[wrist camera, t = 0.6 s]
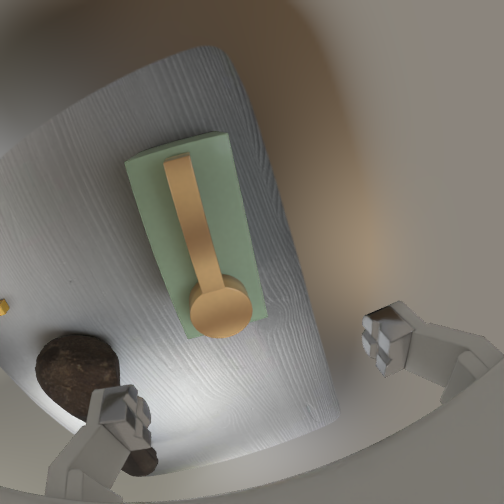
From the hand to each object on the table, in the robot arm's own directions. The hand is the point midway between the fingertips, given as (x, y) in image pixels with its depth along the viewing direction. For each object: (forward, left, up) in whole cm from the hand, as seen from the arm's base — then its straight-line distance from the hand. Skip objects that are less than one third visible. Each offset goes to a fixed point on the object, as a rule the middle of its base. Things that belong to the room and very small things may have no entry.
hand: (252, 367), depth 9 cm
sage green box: (+1, -1, -21) cm, 21 cm away
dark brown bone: (+23, -21, -21) cm, 37 cm away
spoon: (+1, -1, -13) cm, 13 cm away
